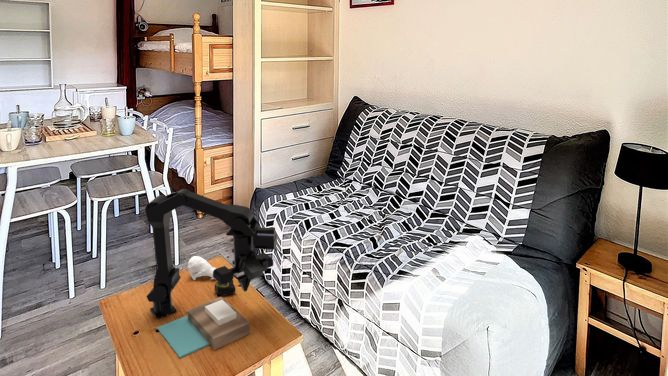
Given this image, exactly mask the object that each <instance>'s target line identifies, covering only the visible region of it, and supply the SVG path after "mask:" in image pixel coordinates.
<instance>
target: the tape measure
mask: <svg viewBox="0 0 668 376" xmlns="http://www.w3.org/2000/svg"><path fill="white" fill-rule="evenodd" d="M214 291H215V293H216V294H217V295H219V296H227V295H230V294H231V295H232V294H234V293H236V287H235V285H234V279H233V280H232V281H231V282H228V283H226V284H220V283H219V282H218V281H217V280H216V282H215V284H214Z"/></svg>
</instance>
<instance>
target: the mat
mask: <svg viewBox="0 0 668 376" xmlns="http://www.w3.org/2000/svg"><path fill="white" fill-rule="evenodd" d="M156 328H157V330H158V331H159V333H160V334H161V336H162V337H163V338H164V339H165V341H166V342H167V344H168V345H169V346H170V347H171V349H172V350H173V351H174V353H175V354H176V355H177V357H178V358H179V359H182V358H184V357H186V356H188V355H191V354H193V353H195V352H198V351H199V350H202V349H204V348H206V347H209V346H210V343H209V342H208V341H207V340H206V339H205V338H204V337H203V335H202V334H201V333H200V332H199V331H198V330H197V329H196V328H195V327H194V325H193V324H192V323H191V322H190V321H189V320H188V315H185V316H183V317H180V318H177V319H175V320H173V321H170V322H167V323H165V324H161V325H160V326H157V327H156Z"/></svg>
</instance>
